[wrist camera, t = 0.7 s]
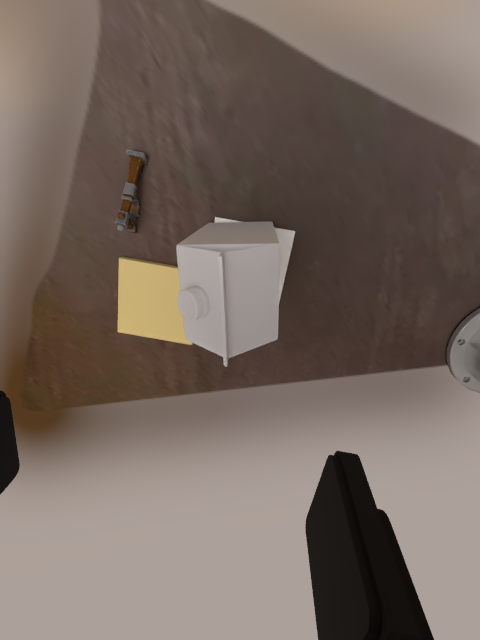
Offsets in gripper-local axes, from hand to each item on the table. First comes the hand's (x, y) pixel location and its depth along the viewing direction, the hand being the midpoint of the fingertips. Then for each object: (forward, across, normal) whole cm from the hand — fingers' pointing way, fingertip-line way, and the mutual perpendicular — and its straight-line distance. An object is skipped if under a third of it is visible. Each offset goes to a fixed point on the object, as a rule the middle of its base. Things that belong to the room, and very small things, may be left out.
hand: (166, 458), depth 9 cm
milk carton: (+30, 0, 0) cm, 30 cm away
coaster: (+30, +9, +7) cm, 32 cm away
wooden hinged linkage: (+30, +12, -5) cm, 33 cm away
